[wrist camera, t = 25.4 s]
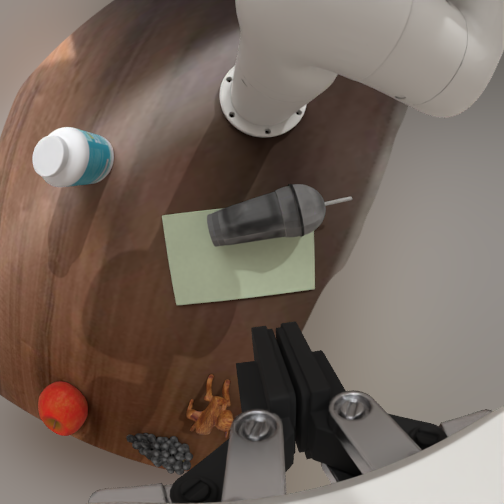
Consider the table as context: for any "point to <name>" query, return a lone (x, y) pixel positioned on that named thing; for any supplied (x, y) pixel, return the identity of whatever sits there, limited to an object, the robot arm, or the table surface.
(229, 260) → the mat
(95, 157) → the pill bottle
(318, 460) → the robot arm
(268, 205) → the beverage cup
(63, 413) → the apple
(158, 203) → the table surface
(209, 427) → the cat figurine
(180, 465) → the fruit
